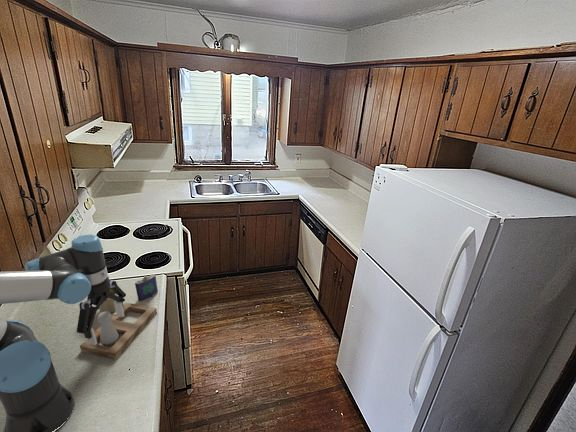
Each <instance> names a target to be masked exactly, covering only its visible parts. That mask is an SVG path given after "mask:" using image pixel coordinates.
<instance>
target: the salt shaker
mask: <svg viewBox="0 0 576 432" xmlns="http://www.w3.org/2000/svg"><path fill="white" fill-rule="evenodd" d="M112 315H113V314H112V313H110V312H108V311H105V312H102V313H101V312H100V313H99V314H98V315H97V317H96V318H97V322H98V323H99V324H100V326H101V327H100V326H99V327H100V343H101V344H102V346H107V347H112V346H113V345H114V344H115V343H116V342H117V341H118V340H119V335H120V334H118V332H117V331H116V329H115V327H114V325H113V323H112V321H111V318H112Z"/></svg>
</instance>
